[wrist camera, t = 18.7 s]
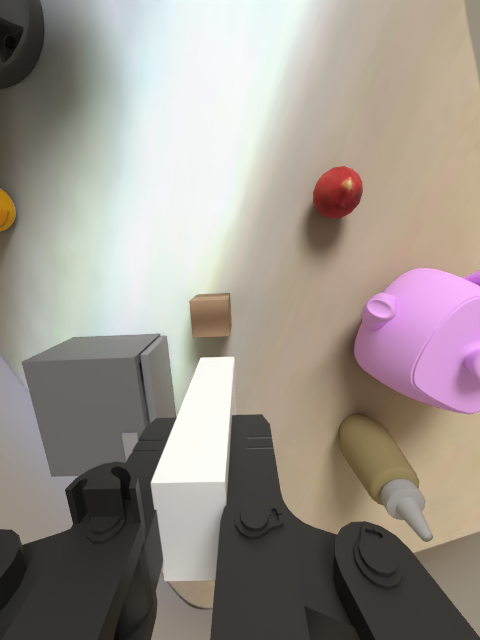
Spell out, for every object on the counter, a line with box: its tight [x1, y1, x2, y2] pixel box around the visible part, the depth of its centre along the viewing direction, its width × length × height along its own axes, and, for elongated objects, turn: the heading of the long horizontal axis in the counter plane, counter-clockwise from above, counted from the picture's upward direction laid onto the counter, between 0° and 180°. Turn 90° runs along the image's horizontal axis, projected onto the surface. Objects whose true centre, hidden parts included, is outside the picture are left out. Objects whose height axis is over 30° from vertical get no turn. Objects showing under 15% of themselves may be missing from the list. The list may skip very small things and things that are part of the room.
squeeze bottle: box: [339, 414, 433, 542], centre depth 36 cm, size 8×8×18 cm
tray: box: [139, 336, 176, 425], centre depth 39 cm, size 17×14×8 cm
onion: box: [313, 166, 363, 218], centre depth 33 cm, size 6×6×8 cm
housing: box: [22, 334, 160, 476], centre depth 39 cm, size 17×14×10 cm
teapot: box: [354, 268, 480, 414], centre depth 33 cm, size 23×21×15 cm
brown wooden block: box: [189, 293, 232, 337], centre depth 37 cm, size 5×5×6 cm
